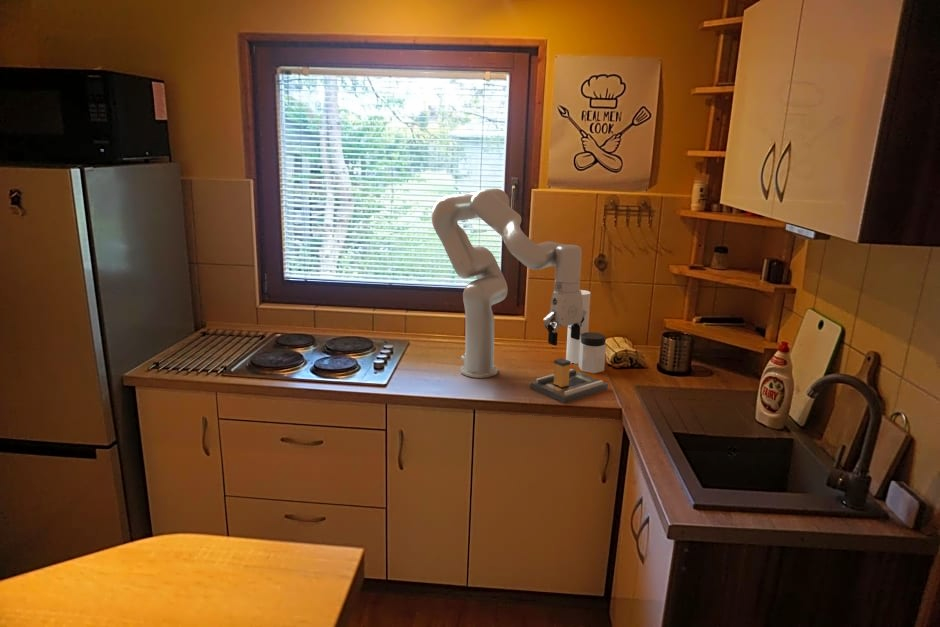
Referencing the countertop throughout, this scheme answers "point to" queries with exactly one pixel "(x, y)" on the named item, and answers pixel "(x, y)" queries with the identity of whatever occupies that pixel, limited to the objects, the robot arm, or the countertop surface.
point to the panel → (574, 382)
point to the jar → (592, 352)
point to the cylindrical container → (574, 344)
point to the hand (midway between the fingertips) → (563, 341)
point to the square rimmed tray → (571, 391)
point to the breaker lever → (561, 372)
